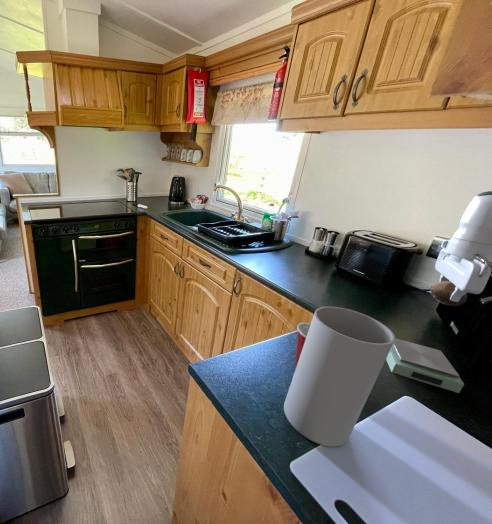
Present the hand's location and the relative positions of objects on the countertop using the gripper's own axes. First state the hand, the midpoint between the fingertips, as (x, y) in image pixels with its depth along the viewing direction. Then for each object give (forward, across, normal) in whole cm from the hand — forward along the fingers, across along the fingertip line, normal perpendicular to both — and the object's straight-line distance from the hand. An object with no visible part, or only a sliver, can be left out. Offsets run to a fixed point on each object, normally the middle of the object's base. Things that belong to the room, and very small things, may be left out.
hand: (447, 294), depth 84 cm
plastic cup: (+19, -32, +32) cm, 49 cm away
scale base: (+19, -12, +4) cm, 23 cm away
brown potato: (+2, 0, 0) cm, 2 cm away
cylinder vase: (+19, -50, +31) cm, 62 cm away
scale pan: (+16, -12, +4) cm, 21 cm away
